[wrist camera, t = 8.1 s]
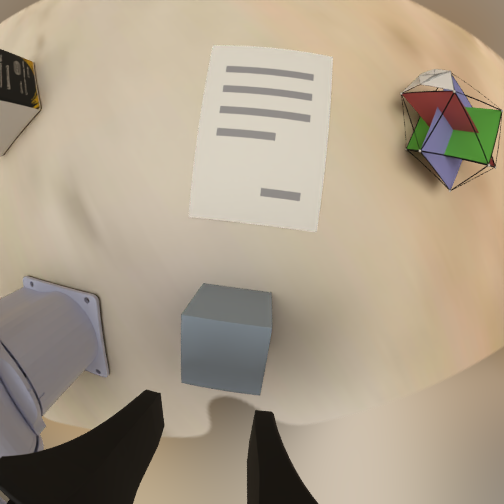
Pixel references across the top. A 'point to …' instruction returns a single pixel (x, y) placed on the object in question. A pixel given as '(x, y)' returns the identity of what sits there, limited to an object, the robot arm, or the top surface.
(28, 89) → the medicine bottle
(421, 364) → the top surface
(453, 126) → the geometric puzzle
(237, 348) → the slate cube
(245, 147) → the letter
